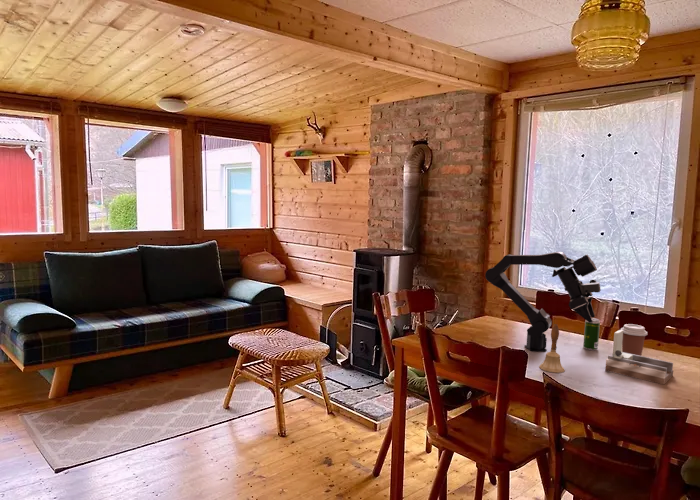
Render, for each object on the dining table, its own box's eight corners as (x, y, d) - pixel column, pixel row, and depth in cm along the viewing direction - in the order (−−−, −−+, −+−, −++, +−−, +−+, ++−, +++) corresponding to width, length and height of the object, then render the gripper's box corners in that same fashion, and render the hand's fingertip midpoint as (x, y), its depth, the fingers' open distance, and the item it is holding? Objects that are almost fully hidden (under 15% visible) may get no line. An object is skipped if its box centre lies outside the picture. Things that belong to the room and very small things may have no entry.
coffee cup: (616, 352, 203) (618, 322, 202) (642, 355, 200) (645, 324, 199) (620, 359, 194) (622, 327, 193) (647, 362, 191) (650, 330, 190)
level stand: (605, 370, 181) (606, 356, 180) (616, 362, 190) (617, 349, 189) (663, 384, 169) (665, 369, 168) (672, 375, 177) (674, 361, 177)
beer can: (600, 349, 207) (602, 319, 205) (593, 351, 203) (596, 321, 202) (587, 345, 211) (589, 317, 209) (580, 348, 207) (582, 318, 206)
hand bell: (563, 366, 184) (567, 322, 182) (565, 374, 176) (568, 328, 174) (539, 363, 187) (541, 320, 185) (539, 371, 179) (542, 325, 177)
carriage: (608, 365, 180) (611, 334, 179) (617, 359, 186) (619, 329, 185) (624, 368, 176) (626, 337, 175) (632, 363, 183) (634, 332, 182)
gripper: (588, 275, 184) (611, 315, 181) (594, 269, 200) (615, 306, 197) (559, 289, 189) (581, 328, 187) (567, 282, 205) (587, 318, 203)
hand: (592, 319), depth 193 cm, fingers open, 9 cm apart
